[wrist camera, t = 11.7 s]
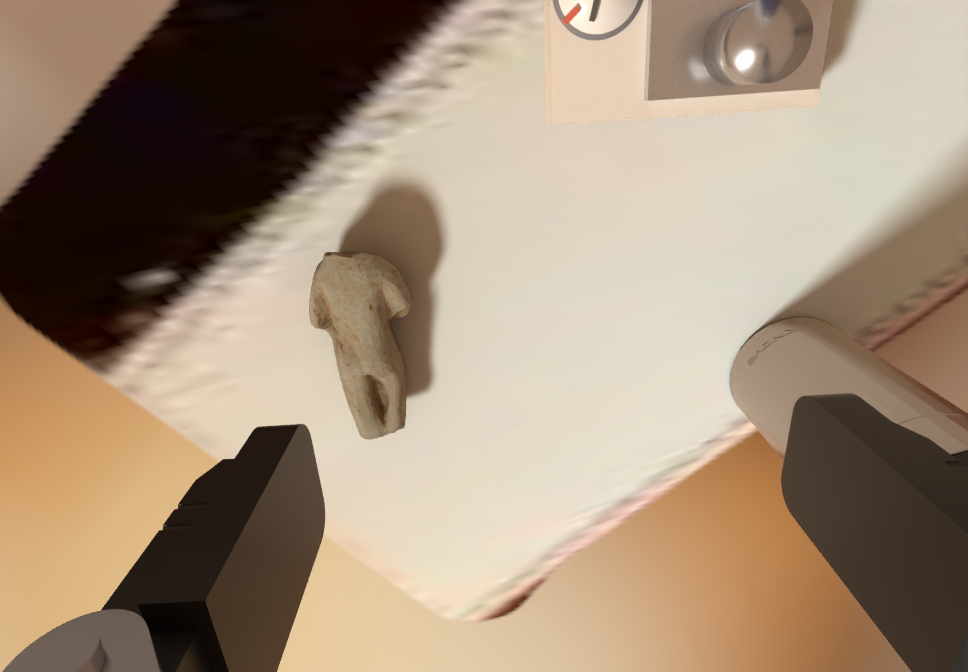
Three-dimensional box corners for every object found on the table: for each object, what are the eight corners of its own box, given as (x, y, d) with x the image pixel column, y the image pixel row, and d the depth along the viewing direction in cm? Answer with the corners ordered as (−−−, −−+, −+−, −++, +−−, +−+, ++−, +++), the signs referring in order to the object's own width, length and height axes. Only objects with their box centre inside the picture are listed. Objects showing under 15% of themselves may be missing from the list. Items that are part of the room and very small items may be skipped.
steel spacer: (788, 41, 32) (829, 33, 28) (734, 101, 33) (768, 100, 29) (741, -11, 31) (777, -26, 27) (688, 52, 32) (716, 46, 28)
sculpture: (438, 405, 46) (405, 227, 40) (431, 441, 42) (392, 250, 35) (353, 411, 47) (306, 238, 40) (337, 448, 43) (282, 261, 36)
